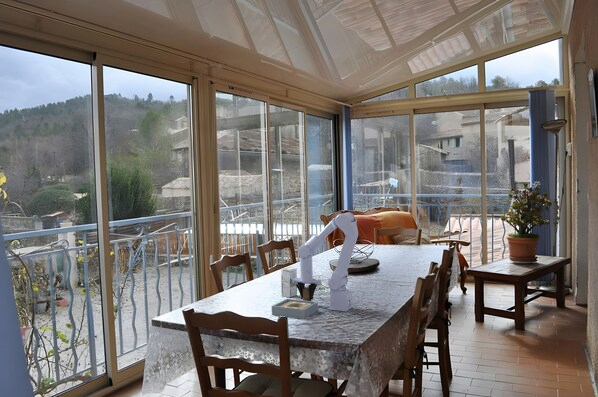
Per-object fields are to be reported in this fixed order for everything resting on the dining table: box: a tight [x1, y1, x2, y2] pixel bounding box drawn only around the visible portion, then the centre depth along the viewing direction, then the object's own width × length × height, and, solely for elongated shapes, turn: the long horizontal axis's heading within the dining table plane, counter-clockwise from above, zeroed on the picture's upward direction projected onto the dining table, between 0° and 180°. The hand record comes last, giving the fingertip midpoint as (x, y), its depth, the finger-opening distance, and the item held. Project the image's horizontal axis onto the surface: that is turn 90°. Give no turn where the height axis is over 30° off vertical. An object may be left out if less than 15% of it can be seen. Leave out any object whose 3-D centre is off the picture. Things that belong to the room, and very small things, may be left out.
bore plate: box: [281, 301, 311, 309], centre depth 222 cm, size 11×11×3 cm
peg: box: [302, 286, 312, 301], centre depth 235 cm, size 4×4×8 cm
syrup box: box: [280, 266, 298, 299], centre depth 253 cm, size 6×6×14 cm
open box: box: [271, 298, 319, 320], centre depth 222 cm, size 16×14×4 cm
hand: (307, 298), depth 235 cm, fingers closed on peg, 4 cm apart
